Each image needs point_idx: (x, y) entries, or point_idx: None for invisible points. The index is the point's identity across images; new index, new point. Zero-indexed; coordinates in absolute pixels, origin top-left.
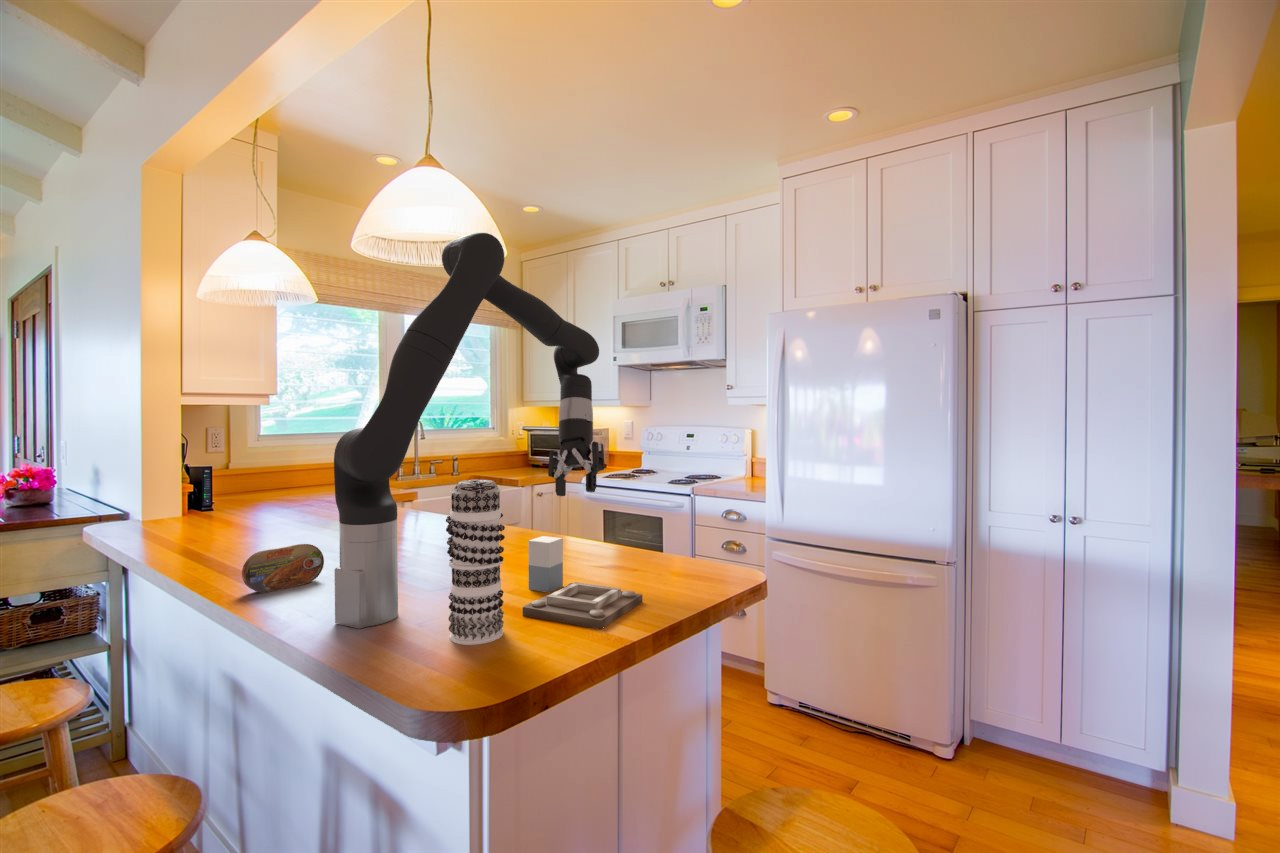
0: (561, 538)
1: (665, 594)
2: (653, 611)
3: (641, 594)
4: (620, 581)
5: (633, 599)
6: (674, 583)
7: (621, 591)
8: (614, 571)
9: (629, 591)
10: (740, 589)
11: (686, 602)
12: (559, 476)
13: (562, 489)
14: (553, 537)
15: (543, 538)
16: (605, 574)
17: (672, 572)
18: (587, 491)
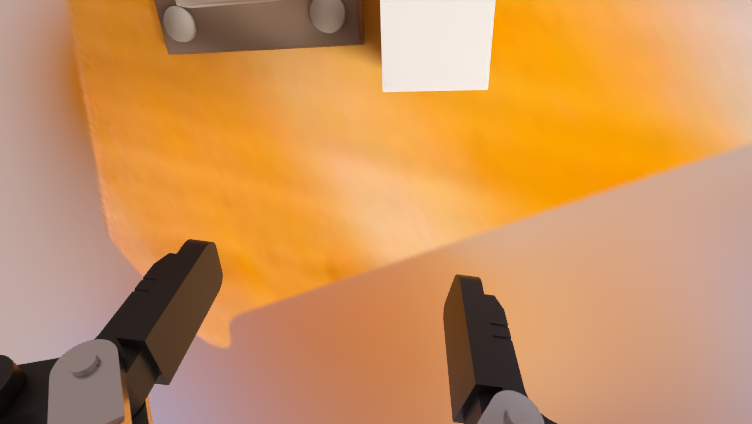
0: (384, 84)
1: (182, 131)
2: (128, 5)
3: (169, 51)
4: (309, 179)
5: (156, 2)
6: (213, 209)
7: (215, 49)
8: (366, 247)
9: (181, 35)
10: (111, 217)
11: (123, 99)
12: (482, 415)
13: (453, 328)
14: (426, 85)
15: (455, 44)
16: (371, 218)
17: (260, 278)
18: (210, 243)
